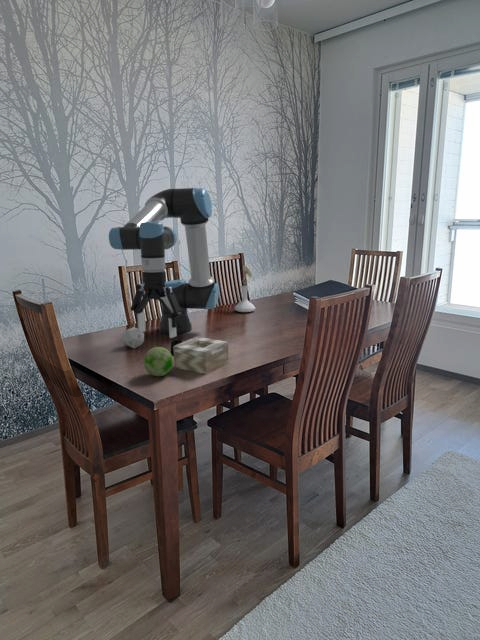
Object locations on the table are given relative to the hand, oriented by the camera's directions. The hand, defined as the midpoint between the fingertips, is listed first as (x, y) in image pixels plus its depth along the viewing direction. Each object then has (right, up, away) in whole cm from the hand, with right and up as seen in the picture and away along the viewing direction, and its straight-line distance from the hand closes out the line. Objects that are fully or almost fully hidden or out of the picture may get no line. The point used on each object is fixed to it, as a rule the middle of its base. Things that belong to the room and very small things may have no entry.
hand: (157, 334), depth 154 cm
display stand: (+14, -12, +14) cm, 23 cm away
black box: (+3, -9, +30) cm, 31 cm away
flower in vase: (+30, +10, +100) cm, 105 cm away
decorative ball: (0, -14, +4) cm, 15 cm away
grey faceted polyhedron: (-16, -6, +37) cm, 41 cm away
